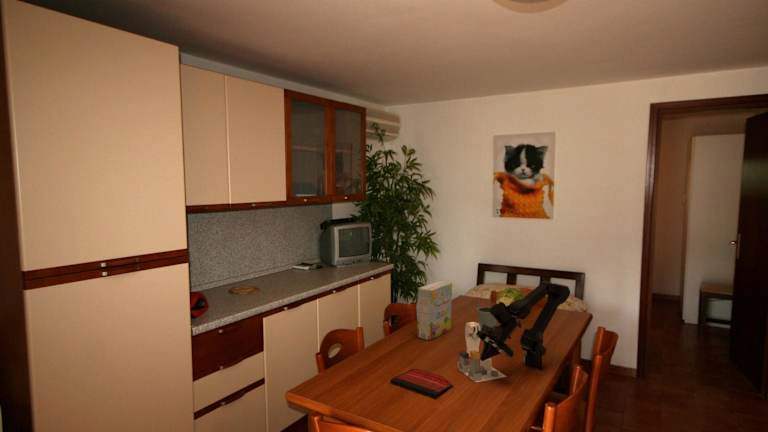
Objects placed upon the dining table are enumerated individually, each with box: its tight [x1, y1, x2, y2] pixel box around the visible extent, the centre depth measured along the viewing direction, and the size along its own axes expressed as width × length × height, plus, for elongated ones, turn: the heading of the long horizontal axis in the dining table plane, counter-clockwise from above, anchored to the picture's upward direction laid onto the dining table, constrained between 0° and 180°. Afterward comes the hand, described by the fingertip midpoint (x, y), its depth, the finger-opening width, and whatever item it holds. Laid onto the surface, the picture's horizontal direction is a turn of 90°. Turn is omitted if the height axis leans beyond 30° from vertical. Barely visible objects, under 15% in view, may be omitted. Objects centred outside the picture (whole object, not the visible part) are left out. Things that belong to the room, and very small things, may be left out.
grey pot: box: [477, 306, 497, 328], centre depth 228 cm, size 10×10×12 cm
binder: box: [390, 368, 454, 400], centre depth 170 cm, size 16×2×21 cm
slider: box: [479, 358, 493, 370], centre depth 180 cm, size 4×2×4 cm, turn 111°
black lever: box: [458, 350, 470, 367], centre depth 179 cm, size 2×3×7 cm
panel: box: [457, 361, 507, 383], centre depth 177 cm, size 14×14×4 cm
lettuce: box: [495, 287, 526, 306], centre depth 255 cm, size 15×27×16 cm, turn 144°
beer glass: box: [464, 321, 481, 358], centre depth 195 cm, size 7×7×15 cm
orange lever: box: [469, 350, 481, 376], centre depth 172 cm, size 2×3×10 cm
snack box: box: [416, 280, 453, 341], centre depth 225 cm, size 22×9×26 cm, turn 143°
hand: (481, 360), depth 173 cm, fingers closed
